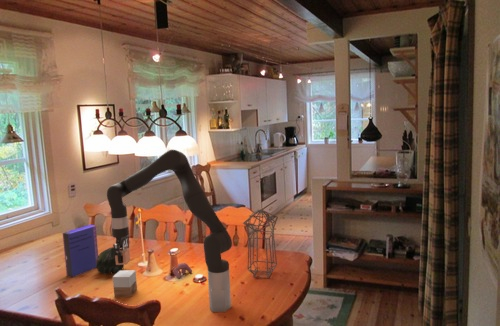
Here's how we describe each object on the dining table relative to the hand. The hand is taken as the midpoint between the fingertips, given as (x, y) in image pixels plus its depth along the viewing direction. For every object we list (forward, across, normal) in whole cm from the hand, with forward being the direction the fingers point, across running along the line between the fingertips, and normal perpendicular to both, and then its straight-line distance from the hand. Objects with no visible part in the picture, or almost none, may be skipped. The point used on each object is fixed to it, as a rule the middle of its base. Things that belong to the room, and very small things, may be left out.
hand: (123, 260), depth 195 cm
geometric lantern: (+16, +19, -65) cm, 70 cm away
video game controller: (+16, +22, -22) cm, 35 cm away
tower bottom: (+16, 0, 0) cm, 16 cm away
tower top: (+11, 0, 0) cm, 11 cm away
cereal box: (+16, +29, +35) cm, 48 cm away
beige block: (+1, 0, 0) cm, 1 cm away
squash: (+16, +27, +18) cm, 36 cm away
